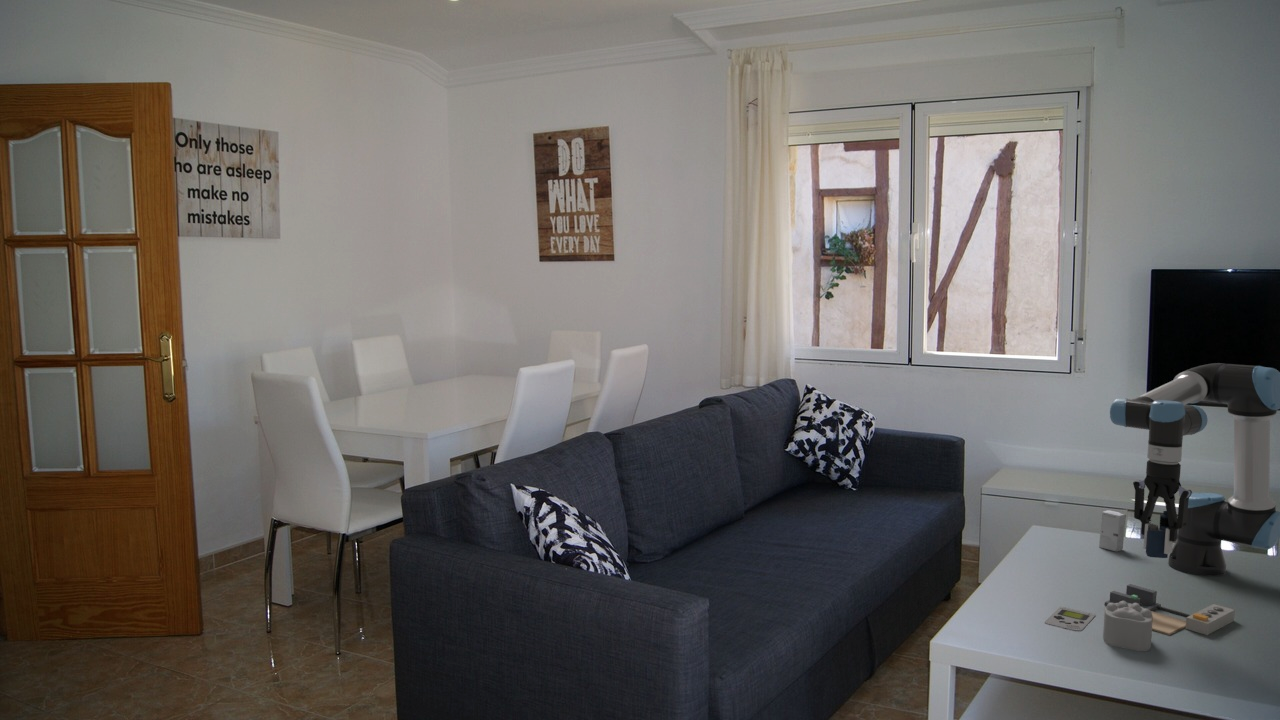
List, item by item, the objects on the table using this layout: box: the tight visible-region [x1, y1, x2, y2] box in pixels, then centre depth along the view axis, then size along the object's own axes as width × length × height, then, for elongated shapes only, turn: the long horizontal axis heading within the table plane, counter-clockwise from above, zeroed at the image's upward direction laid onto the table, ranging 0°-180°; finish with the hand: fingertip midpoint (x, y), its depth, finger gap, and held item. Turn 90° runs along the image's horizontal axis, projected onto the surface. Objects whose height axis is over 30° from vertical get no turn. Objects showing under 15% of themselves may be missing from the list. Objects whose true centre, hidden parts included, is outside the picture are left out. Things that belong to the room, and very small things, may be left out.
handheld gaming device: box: [1044, 606, 1096, 632], centre depth 235 cm, size 9×1×15 cm
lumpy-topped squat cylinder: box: [1102, 601, 1153, 652], centre depth 222 cm, size 10×13×9 cm
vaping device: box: [1145, 510, 1169, 559], centre depth 232 cm, size 3×5×12 cm, turn 78°
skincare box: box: [1098, 509, 1127, 552], centre depth 295 cm, size 6×4×12 cm
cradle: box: [1104, 583, 1191, 618], centre depth 240 cm, size 11×21×5 cm, turn 36°
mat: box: [1151, 610, 1186, 636], centre depth 234 cm, size 12×12×1 cm
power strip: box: [1185, 603, 1236, 636], centre depth 232 cm, size 16×5×4 cm, turn 126°
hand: (1157, 550), depth 232 cm, fingers closed on vaping device, 4 cm apart
